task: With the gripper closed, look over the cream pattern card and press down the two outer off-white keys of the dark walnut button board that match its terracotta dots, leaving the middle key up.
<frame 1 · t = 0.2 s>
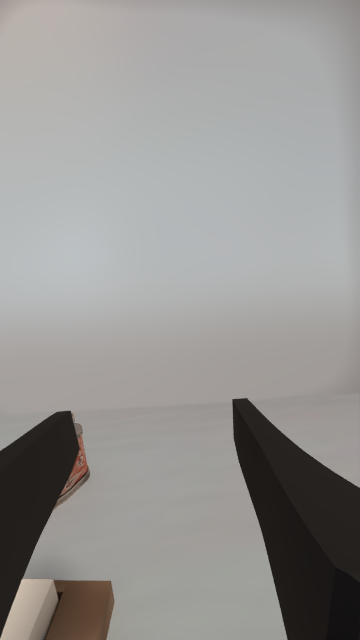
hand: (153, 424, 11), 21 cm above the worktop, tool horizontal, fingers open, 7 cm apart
key c: (14, 629, 17), point 3 cm above the worktop, slide at 0.0 cm
lighter: (60, 493, 31), on the worktop
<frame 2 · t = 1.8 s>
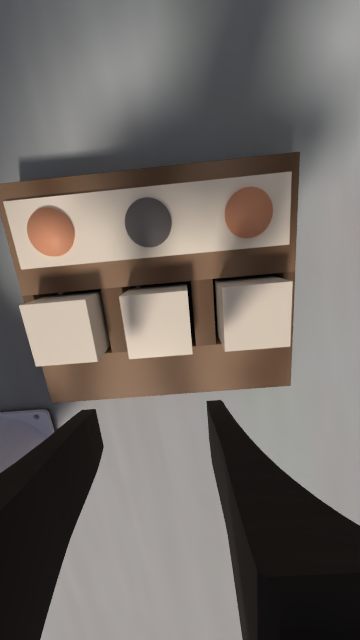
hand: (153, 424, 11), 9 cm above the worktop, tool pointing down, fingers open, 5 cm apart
key a: (70, 327, 16), point 3 cm above the worktop, slide at 0.0 cm
key c: (250, 311, 16), point 3 cm above the worktop, slide at 0.0 cm
pattern card: (153, 227, 17), resting on button board
key b: (159, 319, 16), point 3 cm above the worktop, slide at 0.0 cm
button board: (160, 290, 18), on the worktop
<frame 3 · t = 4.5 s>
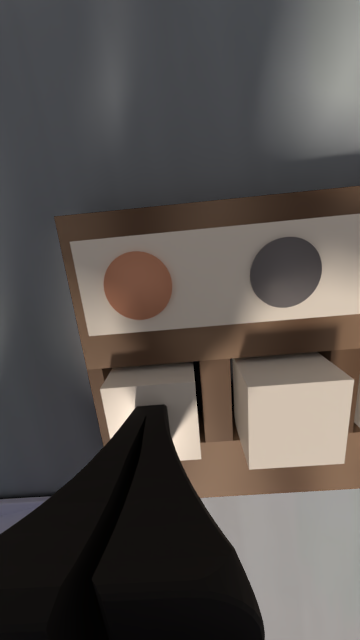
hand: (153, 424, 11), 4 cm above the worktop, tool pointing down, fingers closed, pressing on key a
key a: (156, 404, 12), point 2 cm above the worktop, slide at 0.7 cm, touching gripper
pattern card: (263, 268, 12), resting on button board
key b: (283, 404, 11), point 3 cm above the worktop, slide at 0.0 cm
button board: (262, 349, 14), on the worktop
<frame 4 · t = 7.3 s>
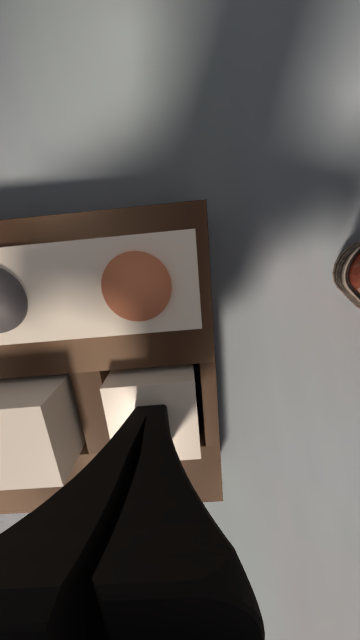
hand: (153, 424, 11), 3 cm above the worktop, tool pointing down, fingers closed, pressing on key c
key c: (156, 404, 12), point 2 cm above the worktop, slide at 1.0 cm, touching gripper
pattern card: (32, 289, 13), resting on button board
key b: (27, 426, 11), point 3 cm above the worktop, slide at 0.0 cm
button board: (52, 367, 14), on the worktop
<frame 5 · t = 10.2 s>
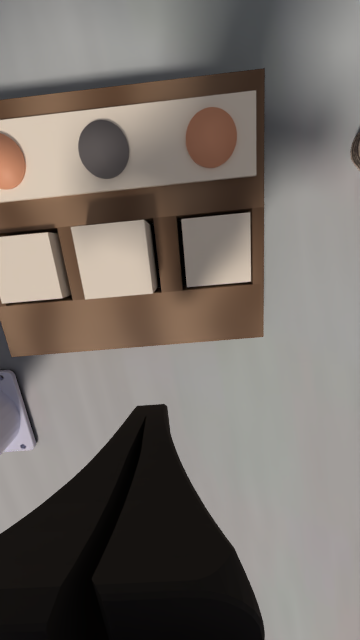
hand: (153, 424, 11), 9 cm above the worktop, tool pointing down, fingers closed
key a: (37, 267, 16), point 2 cm above the worktop, slide at 1.3 cm
key c: (214, 251, 16), point 2 cm above the worktop, slide at 1.3 cm
pattern card: (117, 167, 16), resting on button board
key b: (119, 260, 15), point 3 cm above the worktop, slide at 0.0 cm
button board: (127, 237, 17), on the worktop
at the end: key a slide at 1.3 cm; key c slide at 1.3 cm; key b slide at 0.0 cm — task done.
